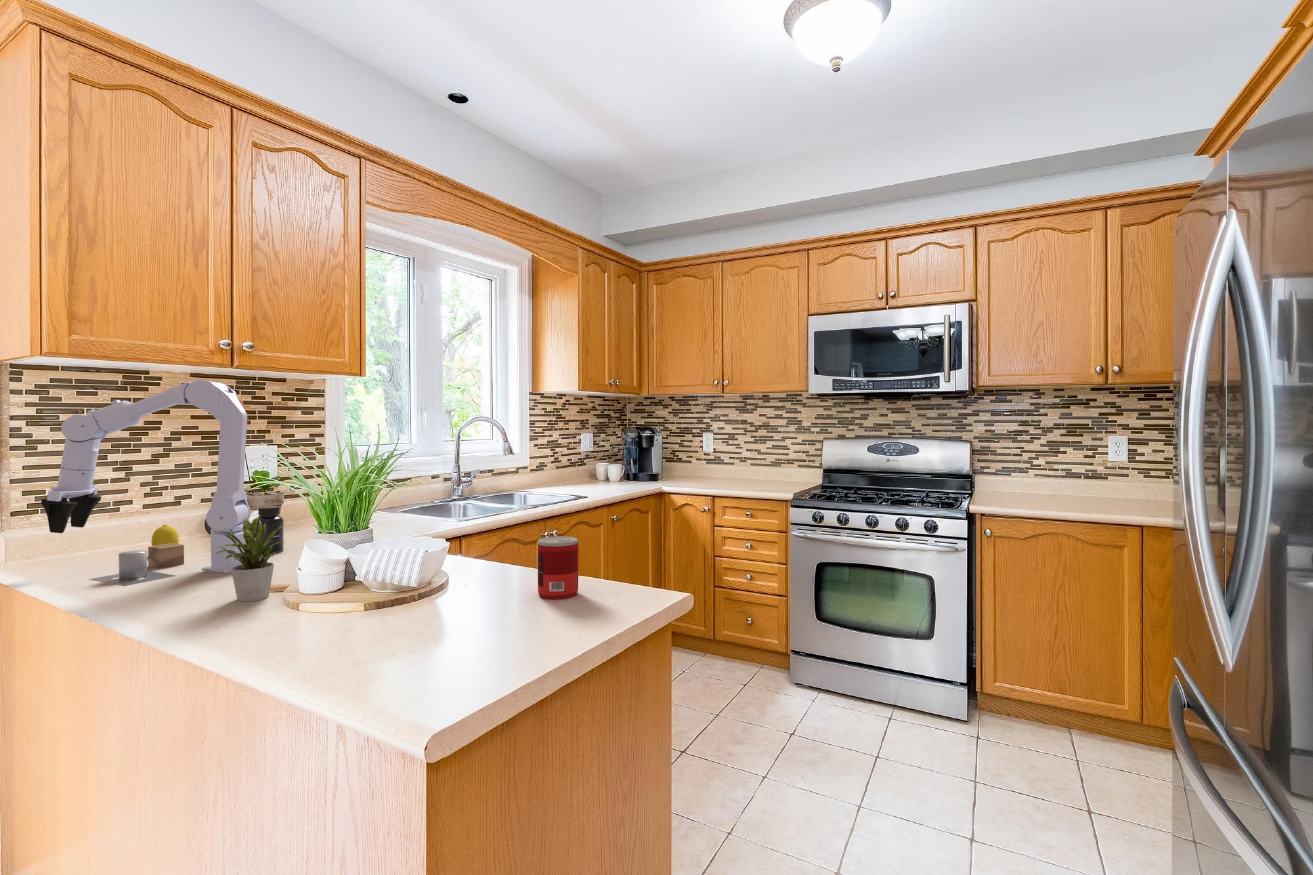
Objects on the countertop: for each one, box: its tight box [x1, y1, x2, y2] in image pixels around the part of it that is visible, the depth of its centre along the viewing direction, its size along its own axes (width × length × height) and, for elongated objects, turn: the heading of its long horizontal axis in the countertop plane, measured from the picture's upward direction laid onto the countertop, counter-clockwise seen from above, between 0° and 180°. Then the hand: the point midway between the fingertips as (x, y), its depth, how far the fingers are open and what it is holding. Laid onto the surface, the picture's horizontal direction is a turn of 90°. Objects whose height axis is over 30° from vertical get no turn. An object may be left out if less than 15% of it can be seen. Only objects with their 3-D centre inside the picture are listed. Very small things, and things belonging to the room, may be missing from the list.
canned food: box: [537, 535, 579, 600], centre depth 124 cm, size 8×8×11 cm
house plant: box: [211, 515, 287, 602], centre depth 122 cm, size 14×14×16 cm
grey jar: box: [118, 549, 148, 580], centre depth 137 cm, size 5×5×6 cm
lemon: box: [151, 524, 180, 546], centre depth 161 cm, size 6×6×8 cm
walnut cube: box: [147, 543, 185, 569], centre depth 149 cm, size 5×5×5 cm
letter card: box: [88, 570, 177, 587], centre depth 137 cm, size 14×10×1 cm
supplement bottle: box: [255, 505, 285, 555], centre depth 166 cm, size 7×7×12 cm
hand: (67, 529), depth 138 cm, fingers open, 7 cm apart
